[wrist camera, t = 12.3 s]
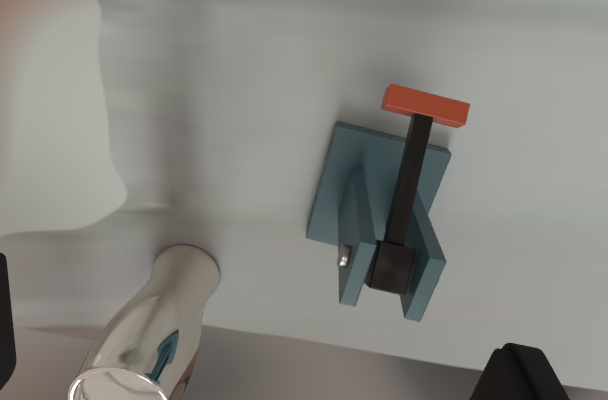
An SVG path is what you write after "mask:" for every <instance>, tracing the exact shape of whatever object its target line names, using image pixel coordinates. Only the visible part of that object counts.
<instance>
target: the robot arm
mask: <svg viewBox="0 0 608 400" xmlns="http://www.w3.org/2000/svg"><path fill="white" fill-rule="evenodd" d="M15 366H16V351H15V340H14V331H13V320H12V310H11V300H10V290H9V280H8V271H7V261H6V257H5V255H4V254H2V253H0V390H1V389H2V388H3V386H4V385H5V384H6V383H7V381H8V380H9V379H10V377H11V376H12V373H13V372H14V369H15ZM470 400H570V399H569V398H568V396H567V394H566V392H565V390H564V389H563V387H562V385H561V383H560V381H559V380H558V378H557V376H556V374H555V372H554V371H553V369H552V367H551V365H550V363H549V362H548V360H547V358H546V356H545V354H544V353H543V352H542V350H540V349H538V348H534V347H529V346H524V345H519V344H514V343H507V344H505V345H504V346H503V348H502V349H496V350H494V352H493V353H492V355H491V357H490V359H489V361H488V363H487V365H486V367H485V369H484V371H483V374H482V375H481V377H480V379H479V381H478V384H477V385H476V388H475V390H474V392H473V394H472V396H471V398H470Z"/></svg>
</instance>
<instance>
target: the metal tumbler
mask: <svg viewBox="0 0 608 400" xmlns="http://www.w3.org/2000/svg"><path fill="white" fill-rule="evenodd" d="M219 280H220V274H219V269H218V267H217V264H216V263H215V261H214V260H213V259H212V257H211V256H209V255H208V254H207V253H206V252H204V251H203V250H201V249H199V248H196V247H193V246H189V245H175V246H171V247H169V248H167V249H165V250H164V251H162V252H161V253H160V254H159V255H158V256H157V258H156V260H155V262H154V264H153V268H152V271H151V275H150V278H149V280H148V281H147V283H146V284H145V285H144V286H143V287H142V288H141V289H140V290H139V291H138V292H137V293H136V294H135V295H134V296H133V297H132V298H131V299H130V300H129V301H128V302H127V303H126V304H125V305H124V306H123V307H122V308H121V309H120V310H119V311H118V312H117V313H116V314H115V316H114V317H113V318H112V319H111V320H110V321H109V322H108V324H107V325H106V327H105V328H104V329H103V331H102V332H101V334H100V335H99V336H98V338H97V340H96V341H95V343H94V345H93V346H92V348H91V350H90V351H89V353H88V355H87V357H86V359H85V361H84V362H83V364H82V366H81V368H80V370H79V372H78V374H77V376H76V378H75V380H74V381H73V382H72V384H71V386H70V388H69V391H68V400H181V398H182V396H183V393H184V391H185V389H186V387H187V384H188V382H189V379H190V377H191V374H192V370H193V368H194V364H195V361H196V358H197V353H198V348H199V342H200V335H201V327H202V318H203V312H204V308H205V305H206V303H207V301H208V300H209V299H210V297H211V296H212V295H213V294H214V292H215V291H216V289H217V287H218V285H219Z"/></svg>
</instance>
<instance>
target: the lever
mask: <svg viewBox="0 0 608 400" xmlns="http://www.w3.org/2000/svg"><path fill="white" fill-rule="evenodd" d="M469 107H470V104H469V103H465V102H461V101H457V100H453V99H449V98H445V97H441V96H437V95H433V94H429V93H425V92H422V91H418V90H414V89H410V88H406V87H402V86H398V85H394V84H390V85H389V86H388V87H387V88H386V90H385V94H384V98H383V103H382V107H381V109H382V110H386V111H390V112H395V113H399V114H403V115H407V116H411V122H410V126H409V130H408V135H407V139H406V143H405V148H404V152H403V156H402V161H401V165H400V169H399V173H398V178H397V182H396V186H395V191H394V195H393V199H392V204H391V208H390V212H389V217H388V221H387V225H386V230H385V234H384V238H383V241H382V240H377V239H376V245H377V246H376V249H375V252H374V255H373V257H372V260H371V263H370V266H369V269H368V272H367V275H366V277H365V280H364V283H365V284H366V285H367V286H368V287H369V288H372V289H376V290H381V291H385V292H389V293H394V294H398V295H402V296H405V294H406V290H407V286H408V281H409V277H410V273H411V268H412V264H413V260H414V255H415V249H413V248H410V247H406V246H404V243H405V239H406V235H407V230H408V226H409V222H410V217H411V213H412V209H413V204H414V200H415V196H416V191H417V187H418V183H419V178H420V174H421V169H422V165H423V161H424V156H425V152H426V148H427V143H428V139H429V135H430V130H431V126H432V122H435V123H439V124H443V125H447V126H451V127H455V128H459V127H461V126H463V125H465V124H466V120H467V116H468V111H469Z"/></svg>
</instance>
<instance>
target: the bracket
mask: <svg viewBox="0 0 608 400" xmlns="http://www.w3.org/2000/svg"><path fill="white" fill-rule="evenodd" d="M405 143H406V139H405V138H401V137H397V136H393V135H389V134H385V133H381V132H377V131H373V130H369V129H365V128H361V127H357V126H353V125H349V124H345V123H341V122H336V125H335V129H334V132H333V136H332V139H331V143H330V147H329V150H328V154H327V158H326V161H325V165H324V169H323V172H322V176H321V180H320V183H319V187H318V191H317V194H316V198H315V202H314V205H313V209H312V213H311V216H310V220H309V224H308V227H307V231H306V238H307V239H311V240H316V241H320V242H324V243H328V244H333V245H337V246H338V261H337V265H338V267H339V303H341V304H345V305H349V306H355V305H356V303H357V300H358V297H359V294H360V292H361V289H362V286H363V283H364V280H365V277H366V275H367V272H368V269H369V266H370V263H371V260H372V257H373V255H374V252H375V249H376V246H377V245H376V239H377V240H382V241H383V238H384V234H385V230H386V225H387V221H388V217H389V212H390V208H391V204H392V199H393V195H394V191H395V186H396V182H397V178H398V173H399V169H400V165H401V161H402V156H403V152H404V148H405ZM450 157H451V153H450V151H449V150H448V149H446V148H442V147H438V146H434V145H430V144H427V148H426V152H425V156H424V161H423V165H422V169H421V174H420V178H419V183H418V187H417V191H416V196H415V200H414V204H413V209H412V213H411V217H410V222H409V226H408V230H407V235H406V239H405V243H404V246H406V247H410V248H413V249H415V255H414V260H413V264H412V268H411V273H410V277H409V281H408V286H407V290H406V294H405V296H402V295H400V299H401V304H402V309H403V313H404V318H405V319H409V320H414V321H418V322H420V321H421V319H422V317H423V314H424V312H425V310H426V307H427V305H428V303H429V300H430V298H431V296H432V294H433V291H434V289H435V287H436V285H437V283H438V280H439V277H440V275H441V273H442V271H443V268H444V266H445V264H446V259H445V257H444V254H443V252H442V249H441V247H440V244H439V242H438V239H437V237H436V234H435V232H434V230H433V227H432V225H431V222H430V220H429V217H428V213H429V210H430V208H431V205H432V203H433V200H434V198H435V195H436V193H437V190H438V188H439V185H440V182H441V180H442V177H443V175H444V172H445V170H446V167H447V165H448V162H449V160H450Z"/></svg>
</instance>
